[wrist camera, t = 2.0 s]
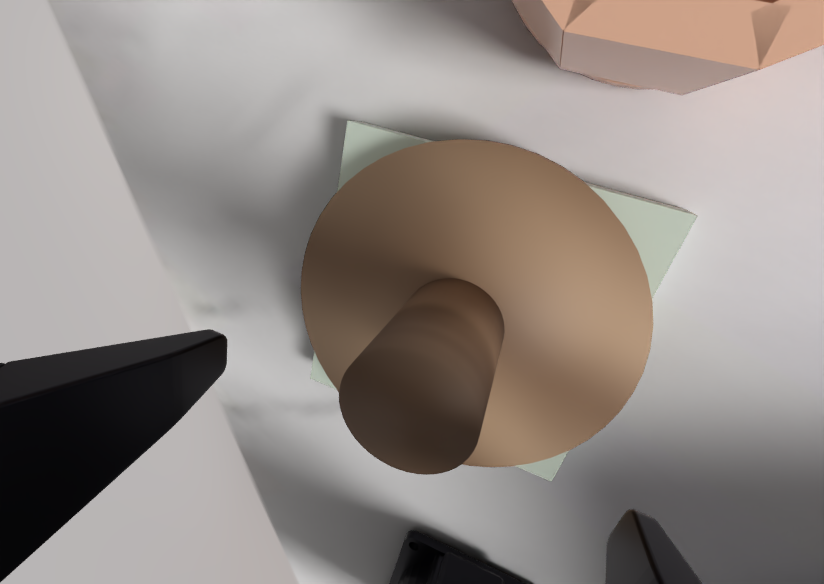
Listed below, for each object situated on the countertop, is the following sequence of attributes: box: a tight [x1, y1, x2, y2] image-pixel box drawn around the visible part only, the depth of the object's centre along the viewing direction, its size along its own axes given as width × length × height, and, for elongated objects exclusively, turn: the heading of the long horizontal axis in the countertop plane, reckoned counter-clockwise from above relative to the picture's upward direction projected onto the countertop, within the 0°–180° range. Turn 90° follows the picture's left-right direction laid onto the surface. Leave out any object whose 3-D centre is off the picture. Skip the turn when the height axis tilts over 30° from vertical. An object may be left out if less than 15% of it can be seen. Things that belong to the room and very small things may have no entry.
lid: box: [301, 139, 653, 474], centre depth 11 cm, size 11×11×5 cm
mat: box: [310, 120, 697, 482], centre depth 14 cm, size 10×10×1 cm
